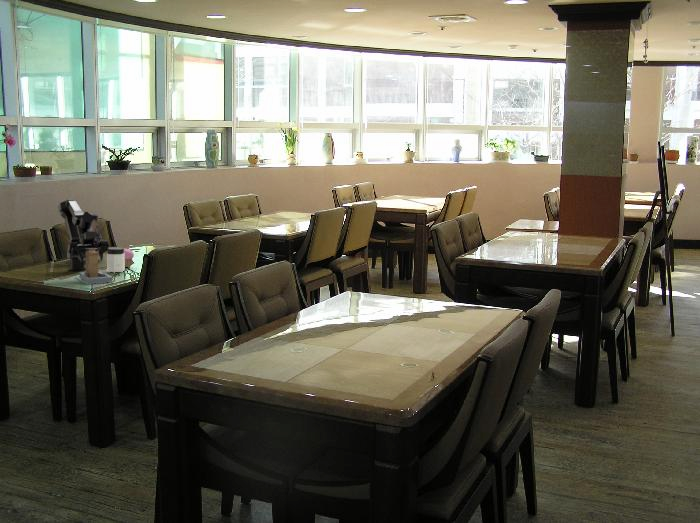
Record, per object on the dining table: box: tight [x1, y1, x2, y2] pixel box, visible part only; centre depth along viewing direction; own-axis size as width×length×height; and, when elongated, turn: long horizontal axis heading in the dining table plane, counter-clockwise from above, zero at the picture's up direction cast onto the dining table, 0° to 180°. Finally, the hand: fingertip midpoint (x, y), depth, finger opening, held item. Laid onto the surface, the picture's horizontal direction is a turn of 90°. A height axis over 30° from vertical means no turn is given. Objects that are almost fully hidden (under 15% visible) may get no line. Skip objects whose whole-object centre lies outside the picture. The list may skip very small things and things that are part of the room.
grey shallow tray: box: [75, 270, 115, 285], centre depth 375 cm, size 18×13×2 cm
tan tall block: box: [85, 251, 99, 278], centre depth 377 cm, size 6×4×12 cm, turn 34°
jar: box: [106, 246, 126, 274], centre depth 398 cm, size 9×8×12 cm
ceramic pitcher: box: [64, 213, 104, 262], centre depth 428 cm, size 18×21×25 cm
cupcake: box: [124, 248, 135, 268], centre depth 410 cm, size 9×9×10 cm
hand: (92, 260), depth 376 cm, fingers open, 9 cm apart
